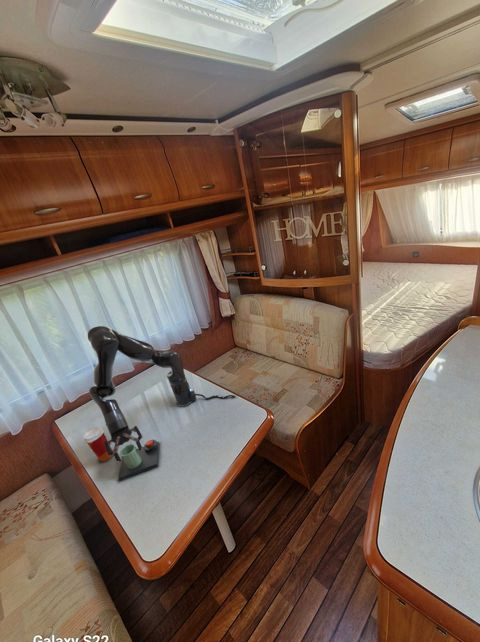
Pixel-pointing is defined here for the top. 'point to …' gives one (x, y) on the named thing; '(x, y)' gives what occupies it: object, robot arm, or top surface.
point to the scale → (147, 463)
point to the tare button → (149, 443)
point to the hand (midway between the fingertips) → (130, 455)
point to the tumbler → (130, 456)
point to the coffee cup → (97, 443)
